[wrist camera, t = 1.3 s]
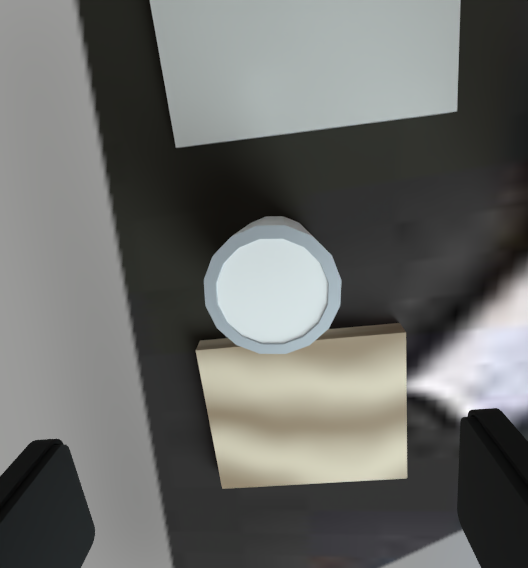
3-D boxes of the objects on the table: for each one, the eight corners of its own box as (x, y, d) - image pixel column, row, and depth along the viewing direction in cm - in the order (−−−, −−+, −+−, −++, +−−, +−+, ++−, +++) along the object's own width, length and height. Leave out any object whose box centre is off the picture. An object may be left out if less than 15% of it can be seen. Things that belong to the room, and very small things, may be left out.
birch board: (200, 340, 28) (195, 350, 27) (399, 323, 27) (405, 332, 25) (225, 473, 32) (222, 488, 30) (401, 463, 31) (407, 478, 29)
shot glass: (216, 296, 27) (194, 343, 20) (231, 196, 25) (212, 212, 18) (314, 314, 27) (324, 366, 20) (338, 216, 25) (358, 239, 18)
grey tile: (137, -96, 20) (130, -109, 19) (456, -155, 19) (465, -171, 18) (180, 147, 24) (175, 147, 23) (449, 113, 23) (457, 111, 22)
